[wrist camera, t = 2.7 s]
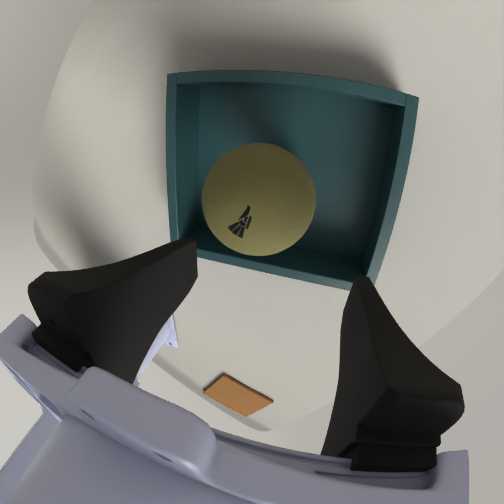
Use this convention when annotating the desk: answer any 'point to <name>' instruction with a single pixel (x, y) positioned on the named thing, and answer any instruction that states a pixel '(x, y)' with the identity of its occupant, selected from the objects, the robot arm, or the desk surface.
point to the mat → (236, 396)
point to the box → (306, 150)
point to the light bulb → (258, 199)
